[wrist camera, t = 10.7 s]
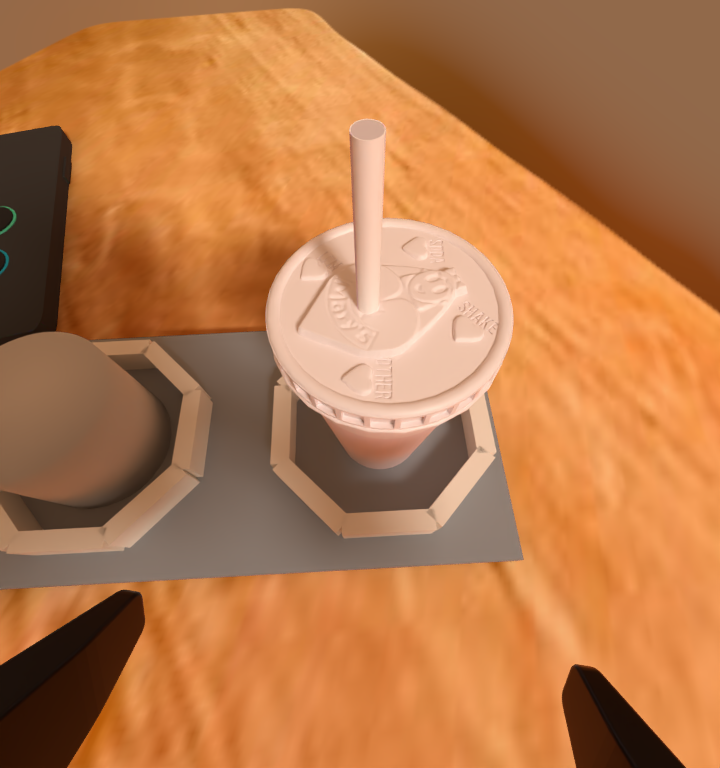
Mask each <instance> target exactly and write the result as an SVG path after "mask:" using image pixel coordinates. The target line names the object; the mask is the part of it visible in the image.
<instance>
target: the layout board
mask: <svg viewBox="0 0 720 768" xmlns="http://www.w3.org/2000/svg"><path fill="white" fill-rule="evenodd" d="M518 560H524V559H523V555H522V550H521V545H520V541H519V536H518V532H517V527H516V522H515V518H514V513H513V509H512V504H511V499H510V495H509V490H508V486H507V481H506V477H505V472H504V467H503V463H502V458H501V454H500V449H499V444H498V440H497V435H496V431H495V426H494V421H493V417H492V412H491V408H490V403H489V398H488V394H487V391H486V392H485V393H484V394H483V395H482V396H481V397H480V398H479V399H478V400H477V401H476V402H475V403H474V404H473V405H472V406H471V407H470V408H469V409H468V410H467V411H465V412H463V413H461V414H459V415H457V416H455V417H454V418H452V419H450V420H448V421H446V422H444V423H442V424H440V425H439V426H437V427H436V428H435V429H434V430H433V431H432V432H431V433H430V434H429V435H428V436H427V437H426V439H425V440H424V441H423V442H422V443H421V444H420V445H419V446H418V447H417V448H416V449H415V450H414V451H413V452H412V454H411V455H410V456H409V457H408V458H407V459H406V460H405V461H403V462H402V463H400V464H399V465H397V466H394V467H392V468H388V469H372V468H368V467H365V466H363V465H361V464H359V463H357V462H356V461H354V460H353V459H352V458H351V457H350V456H349V455H348V453H347V452H346V450H345V449H344V447H343V446H342V444H341V443H340V441H339V440H338V438H337V437H336V436H335V434H334V433H333V431H332V430H331V428H330V427H329V425H328V424H327V422H326V421H325V419H324V418H323V416H322V415H321V414H320V413H318V412H316V411H314V410H313V409H311V408H309V407H308V406H307V405H306V404H305V403H304V402H303V401H302V400H301V399H300V398H299V397H298V396H297V395H296V394H295V393H294V392H293V391H292V390H291V388H290V387H289V386H288V385H287V384H286V382H285V380H284V378H283V376H282V374H281V372H280V370H279V368H278V366H277V364H276V362H275V360H274V355H273V350H272V347H271V345H270V342H269V338H268V334H267V331H255V332H236V333H216V334H197V335H178V336H159V337H139V338H120V339H101V340H87V339H85V338H83V337H80V336H78V335H75V334H71V333H65V332H42V333H36V334H31V335H27V336H24V337H20V338H17V339H15V340H12V341H10V342H7V343H5V344H3V345H1V346H0V589H17V588H35V587H53V586H71V585H89V584H107V583H125V582H143V581H161V580H179V579H197V578H215V577H232V576H250V575H268V574H286V573H304V572H322V571H340V570H358V569H376V568H394V567H412V566H430V565H448V564H466V563H483V562H501V561H518Z"/></svg>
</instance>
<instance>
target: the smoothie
mask: <svg viewBox="0 0 720 768" xmlns="http://www.w3.org/2000/svg"><path fill="white" fill-rule="evenodd" d="M349 133H350V156H351V180H352V203H353V222H351V223H346V224H344V225H341V226H338V227H335V228H333V229H330V230H327V231H326V232H324V233H322V234H320V235H318V236H316V237H315V238H313V239H311V240H310V241H308V242H307V243H306V244H304V245H303V246H301V247H300V248H299V249H298V250H297V251H296V252H295V253H294V254H293V255H292V256H291V257H290V258H289V259H288V260H287V261H286V262H285V264H284V265H283V266H282V267H281V269H280V271H279V272H278V274H277V275H276V277H275V279H274V281H273V283H272V286H271V289H270V291H269V295H268V299H267V304H266V329H267V334H268V338H269V342H270V345H271V347H272V350H273V355H274V360H275V362H276V364H277V366H278V368H279V370H280V372H281V374H282V376H283V378H284V380H285V382H286V384H287V385H288V386H289V387H290V388H291V390H292V391H293V392H294V393H295V394H296V395H297V396H298V397H299V398H300V399H301V400H302V401H303V402H304V403H305V404H306V405H307V406H308V407H309V408H311V409H313V410H314V411H316V412H318V413H320V414H321V415H322V416H323V418H324V419H325V421H326V422H327V424H328V425H329V427H330V428H331V430H332V431H333V433H334V434H335V436H336V437H337V438H338V440H339V441H340V443H341V444H342V446H343V447H344V449H345V450H346V452H347V453H348V455H349V456H350V457H351V458H352V459H353V460H354V461H356V462H357V463H359V464H361V465H363V466H365V467H368V468H372V469H388V468H392V467H394V466H397V465H399V464H400V463H402V462H403V461H405V460H406V459H407V458H408V457H409V456H410V455H411V454H412V452H413V451H414V450H415V449H416V448H417V447H418V446H419V445H420V444H421V443H422V442H423V441H424V440H425V439H426V437H427V436H428V435H429V434H430V433H431V432H432V431H433V430H434V429H435V428H436V427H437V426H439V425H440V424H442V423H444V422H446V421H448V420H450V419H452V418H454V417H455V416H457V415H459V414H461V413H463V412H465V411H467V410H468V409H469V408H470V407H471V406H472V405H473V404H474V403H475V402H476V401H477V400H478V399H479V398H480V397H481V396H482V395H483V394H484V393H485V392H486V391H487V390H488V389H489V388H490V386H491V384H492V382H493V380H494V378H495V376H496V374H497V373H498V371H499V369H500V367H501V365H502V362H503V359H504V357H505V355H506V353H507V350H508V348H509V345H510V341H511V338H512V332H513V309H512V303H511V299H510V295H509V293H508V290H507V287H506V285H505V283H504V281H503V279H502V277H501V276H500V274H499V273H498V271H497V269H496V268H495V267H494V266H493V264H492V263H491V262H490V261H489V260H488V259H487V258H486V257H485V256H484V255H483V254H482V253H481V252H480V251H479V250H478V249H477V248H475V247H474V246H473V245H471V244H470V243H469V242H467V241H466V240H464V239H462V238H461V237H459V236H457V235H455V234H453V233H452V232H450V231H447V230H445V229H442V228H440V227H437V226H434V225H431V224H428V223H424V222H419V221H414V220H410V219H398V218H383V193H384V167H385V142H386V127H385V125H384V124H383V123H382V122H380V121H378V120H374V119H362V120H358V121H356V122H354V123H353V124H352V125H351V126H350V129H349Z"/></svg>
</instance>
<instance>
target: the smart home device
mask: <svg viewBox="0 0 720 768" xmlns="http://www.w3.org/2000/svg"><path fill="white" fill-rule="evenodd" d="M71 154H72V144H71V142H70V140H69V139H68V138H67V136H66V135H65V133H64V132H63V130H62V129H61V127H60V126H49V127H44V128H38V129H32V130H26V131H21V132H15V133H9V134H4V135H0V346H1V345H3V344H5V343H7V342H10V341H12V340H15V339H17V338H20V337H24V336H27V335H31V334H36V333H42V332H55V330H56V327H57V318H58V306H59V295H60V283H61V271H62V260H63V248H64V236H65V224H66V213H67V201H68V189H69V183H70V173H71Z"/></svg>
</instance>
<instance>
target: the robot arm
mask: <svg viewBox="0 0 720 768" xmlns="http://www.w3.org/2000/svg"><path fill="white" fill-rule="evenodd" d="M144 625H145V615H144V607H143V599H142V595H141V594H140V592H136V591H130V590H121V591H118V592H116V593H115V594H113V595H112V596H110V597H108V598H107V599H105V600H104V601H102V602H100V603H99V604H97V605H96V606H94V607H92V608H91V609H89V610H88V611H86V612H84V613H83V614H81V615H80V616H78V617H77V618H75V619H73V620H72V621H70V622H69V623H67V624H65V625H64V626H62V627H61V628H59V629H57V630H56V631H54V632H53V633H51V634H49V635H48V636H46V637H45V638H43V639H42V640H40V641H38V642H37V643H35V644H34V645H32V646H30V647H29V648H27V649H26V650H24V651H22V652H21V653H19V654H18V655H16V656H14V657H13V658H11V659H10V660H8V661H6V662H5V663H3V664H2V665H0V768H67V767H68V765H69V764H70V762H71V760H72V759H73V757H74V756H75V754H76V752H77V751H78V749H79V748H80V746H81V744H82V743H83V741H84V739H85V738H86V736H87V735H88V733H89V731H90V730H91V728H92V726H93V725H94V723H95V721H96V720H97V718H98V716H99V714H100V713H101V711H102V709H103V707H104V705H105V703H106V702H107V700H108V698H109V696H110V694H111V692H112V690H113V688H114V686H115V684H116V682H117V680H118V678H119V676H120V674H121V672H122V670H123V668H124V666H125V665H126V663H127V661H128V659H129V657H130V655H131V653H132V651H133V649H134V647H135V645H136V643H137V641H138V639H139V637H140V635H141V633H142V631H143V628H144ZM562 704H563V709H564V714H565V718H566V723H567V727H568V732H569V737H570V741H571V746H572V750H573V755H574V759H575V764H576V768H686V767H685V766H684V765H683V764H682V763H681V762H680V760H679V759H678V758H677V757H676V756H675V755H674V754H673V753H672V751H671V750H670V749H669V748H668V747H667V746H666V745H665V744H664V743H663V741H662V740H661V739H660V738H659V737H658V736H657V735H656V734H655V733H654V731H653V730H652V729H651V728H650V727H649V726H648V725H647V724H646V722H645V721H644V720H643V719H642V718H641V717H640V716H639V715H638V714H637V712H636V711H635V710H634V709H633V708H632V707H631V706H630V705H629V703H628V702H627V701H626V700H625V699H624V698H623V697H622V696H621V695H620V693H619V692H618V691H617V690H616V689H615V688H614V687H613V686H612V685H611V683H610V682H609V681H608V680H607V679H606V678H605V677H604V676H603V674H602V673H601V672H600V671H598V670H597V669H596V668H594V667H590V666H584V665H578V664H575V665H573V666H572V667H571V670H570V672H569V675H568V678H567V680H566V683H565V686H564V689H563V692H562Z"/></svg>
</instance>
